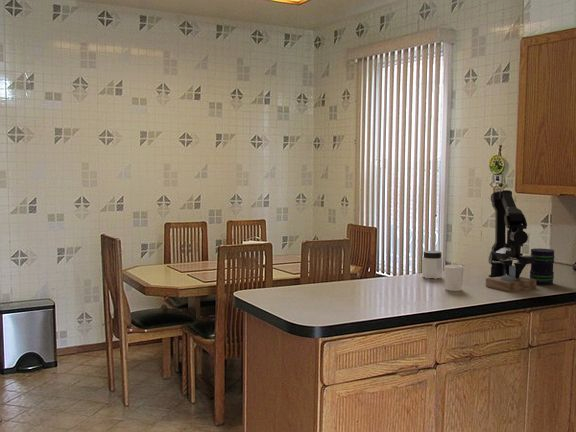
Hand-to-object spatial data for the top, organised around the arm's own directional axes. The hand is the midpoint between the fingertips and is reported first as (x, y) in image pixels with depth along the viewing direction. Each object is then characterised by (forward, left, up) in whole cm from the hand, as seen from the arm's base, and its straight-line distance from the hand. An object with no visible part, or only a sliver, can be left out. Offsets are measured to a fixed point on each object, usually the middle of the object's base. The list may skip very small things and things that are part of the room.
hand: (512, 277), depth 269 cm
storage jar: (-18, 0, -4) cm, 19 cm away
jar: (+15, -34, -4) cm, 37 cm away
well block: (+1, 0, -4) cm, 4 cm away
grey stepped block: (+1, 0, -2) cm, 2 cm away
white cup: (+26, -8, -4) cm, 28 cm away
